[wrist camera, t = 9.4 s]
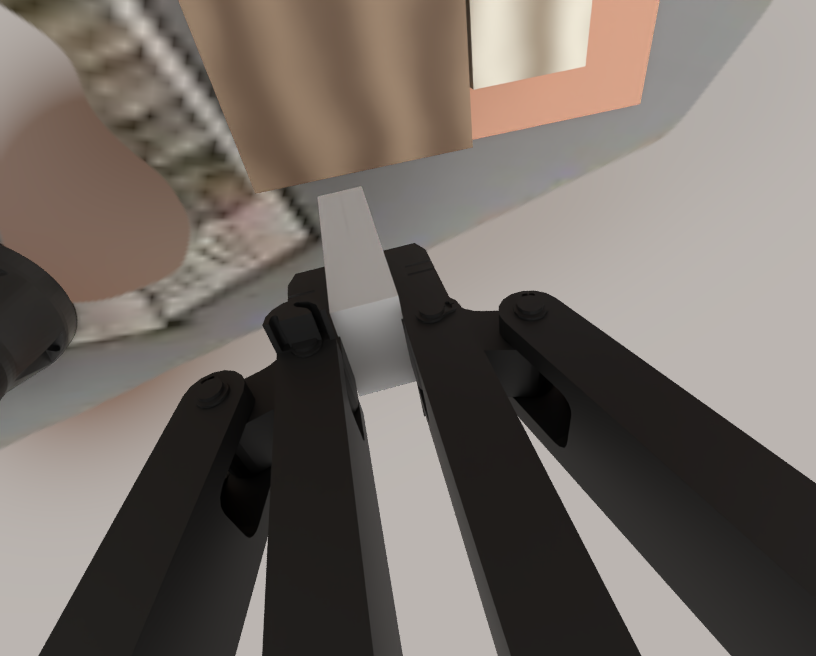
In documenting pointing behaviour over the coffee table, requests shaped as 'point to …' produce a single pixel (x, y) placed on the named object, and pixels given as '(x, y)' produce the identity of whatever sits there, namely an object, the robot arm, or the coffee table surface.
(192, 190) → the coffee table surface
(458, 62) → the block
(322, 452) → the robot arm
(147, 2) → the coffee table surface
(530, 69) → the birch tile
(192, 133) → the coffee table surface
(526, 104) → the terracotta mat
